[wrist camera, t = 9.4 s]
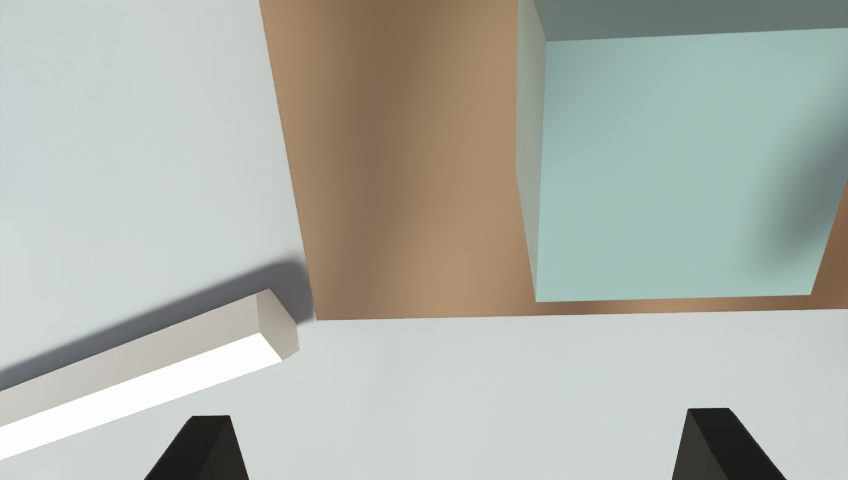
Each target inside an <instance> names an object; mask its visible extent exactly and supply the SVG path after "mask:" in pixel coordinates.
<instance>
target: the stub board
mask: <svg viewBox="0 0 848 480" xmlns="http://www.w3.org/2000/svg"><path fill="white" fill-rule="evenodd" d="M259 3H260V8H261V14H262V19H263V25H264V30H265V36H266V41H267V47H268V53H269V58H270V64H271V69H272V75H273V80H274V86H275V91H276V97H277V102H278V108H279V113H280V119H281V125H282V130H283V136H284V141H285V147H286V152H287V158H288V163H289V169H290V174H291V180H292V185H293V191H294V197H295V202H296V208H297V213H298V219H299V224H300V230H301V235H302V241H303V246H304V252H305V257H306V263H307V269H308V274H309V280H310V285H311V291H312V296H313V302H314V307H315V313H316V318H317V320H356V319H402V318H448V317H494V316H540V315H587V314H633V313H679V312H725V311H771V310H817V309H848V178H847V182H846V185H845V188H844V191H843V194H842V197H841V200H840V204H839V207H838V210H837V213H836V216H835V219H834V222H833V225H832V229H831V232H830V235H829V238H828V241H827V244H826V247H825V251H824V254H823V257H822V260H821V263H820V266H819V269H818V272H817V276H816V279H815V282H814V285H813V288H812V291H811V294H810V295H785V296H747V297H709V298H671V299H633V300H596V301H558V302H536V300H535V293H534V287H533V280H532V274H531V267H530V261H529V254H528V248H527V241H526V235H525V228H524V222H523V215H522V209H521V203H520V196H519V190H518V183H517V177H516V170H515V167H516V110H517V52H518V0H259Z"/></svg>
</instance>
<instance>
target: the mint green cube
mask: <svg viewBox="0 0 848 480" xmlns="http://www.w3.org/2000/svg"><path fill="white" fill-rule="evenodd" d="M515 170H516V177H517V183H518V190H519V196H520V203H521V209H522V215H523V222H524V228H525V235H526V241H527V248H528V254H529V261H530V267H531V274H532V280H533V287H534V293H535V300H536V302H558V301H596V300H633V299H671V298H709V297H747V296H785V295H810V294H811V291H812V288H813V285H814V282H815V279H816V276H817V272H818V269H819V266H820V263H821V260H822V257H823V254H824V251H825V247H826V244H827V241H828V238H829V235H830V232H831V229H832V225H833V222H834V219H835V216H836V213H837V210H838V207H839V204H840V200H841V197H842V194H843V191H844V188H845V185H846V182H847V178H848V0H518V52H517V110H516V167H515Z"/></svg>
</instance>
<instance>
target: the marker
mask: <svg viewBox="0 0 848 480" xmlns="http://www.w3.org/2000/svg"><path fill="white" fill-rule="evenodd" d="M298 350H300V349H299V341H298V333H297V325H296V322H295V321H294V320H293V318H292V317H291V316H290V314H289V313H288V312H287V311H286V309H285V308H284V307H283V305H282V304H281V303H280V301H279V300H278V299H277V297H276V296H275V295H274V294H273V292H272V291H271V290H270V288H268V289H266V290H263V291H260V292H258V293H255V294H253V295H250V296H247V297H245V298H242V299H240V300H237V301H234V302H232V303H229V304H226V305H224V306H221V307H219V308H216V309H213V310H211V311H208V312H206V313H203V314H200V315H198V316H195V317H193V318H190V319H187V320H185V321H182V322H180V323H177V324H174V325H172V326H169V327H167V328H164V329H161V330H159V331H156V332H154V333H151V334H148V335H146V336H143V337H141V338H138V339H135V340H133V341H130V342H128V343H125V344H122V345H120V346H117V347H114V348H112V349H109V350H107V351H104V352H101V353H99V354H96V355H94V356H91V357H88V358H86V359H83V360H81V361H78V362H75V363H73V364H70V365H68V366H65V367H62V368H60V369H57V370H55V371H52V372H49V373H47V374H44V375H42V376H39V377H36V378H34V379H31V380H29V381H26V382H23V383H21V384H18V385H16V386H13V387H10V388H8V389H5V390H2V391H0V460H1V459H4V458H6V457H9V456H12V455H15V454H18V453H21V452H24V451H26V450H29V449H32V448H35V447H38V446H41V445H44V444H46V443H49V442H52V441H55V440H58V439H61V438H64V437H66V436H69V435H72V434H75V433H78V432H81V431H84V430H86V429H89V428H92V427H95V426H98V425H101V424H104V423H106V422H109V421H112V420H115V419H118V418H121V417H124V416H127V415H129V414H132V413H135V412H138V411H141V410H144V409H147V408H149V407H152V406H155V405H158V404H161V403H164V402H167V401H169V400H172V399H175V398H178V397H181V396H184V395H187V394H189V393H192V392H195V391H198V390H201V389H204V388H207V387H209V386H212V385H215V384H218V383H221V382H224V381H227V380H229V379H232V378H235V377H238V376H241V375H244V374H247V373H250V372H252V371H255V370H258V369H261V368H264V367H267V366H270V365H272V364H275V363H278V362H281V361H283V360H285V359H286V358H288V357H289V356H291V355H292V354H294V353H295V352H297V351H298Z"/></svg>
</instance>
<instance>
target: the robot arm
mask: <svg viewBox="0 0 848 480" xmlns="http://www.w3.org/2000/svg"><path fill="white" fill-rule="evenodd" d="M144 480H249V478H248V474H247V471H246V468H245V465H244V461H243V458H242V455H241V451H240V448H239V445H238V441H237V438H236V435H235V431H234V428H233V425H232V421H231V418H230V415H223V416H192V417H191V418H190V419H189V420H188V421H187V422H186V423H185V425H184V426H183V427H182V429H181V430H180V432H179V433H178V434H177V436H176V437H175V438H174V440H173V441H172V442H171V444H170V445H169V447H168V448H167V449H166V451H165V452H164V453H163V455H162V456H161V457H160V459H159V460H158V462H157V463H156V464H155V466H154V467H153V468H152V470H151V471H150V472H149V474H148V475H147V476H146V478H145V479H144ZM672 480H786V478H785V477H784V476H783V475H782V473H781V472H780V471H779V470H778V469H777V467H776V466H775V465H774V464H773V462H772V461H771V460H770V459H769V457H768V456H767V455H766V454H765V452H764V451H763V450H762V449H761V447H760V446H759V445H758V443H757V442H756V441H755V440H754V438H753V437H752V436H751V435H750V433H749V432H748V431H747V429H746V428H745V427H744V426H743V424H742V423H741V422H740V420H739V419H738V418H737V416H736V415H735V414H734V413H733V412H732V411H731V410H730V409H729V408H690V409H688V411H687V415H686V420H685V424H684V428H683V433H682V437H681V442H680V446H679V450H678V455H677V459H676V463H675V468H674V472H673V477H672Z"/></svg>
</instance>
